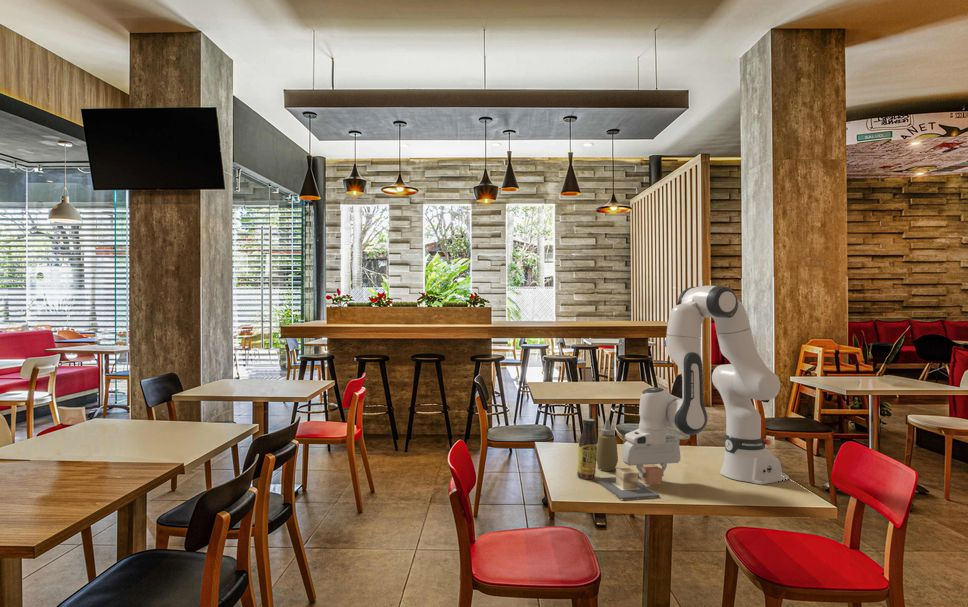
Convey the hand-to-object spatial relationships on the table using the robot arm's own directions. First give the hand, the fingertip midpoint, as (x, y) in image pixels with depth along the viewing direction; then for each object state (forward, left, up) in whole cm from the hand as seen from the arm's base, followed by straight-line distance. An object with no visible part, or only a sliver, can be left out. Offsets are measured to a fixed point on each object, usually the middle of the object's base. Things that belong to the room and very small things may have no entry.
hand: (651, 476), depth 177 cm
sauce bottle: (+20, -8, -2) cm, 22 cm away
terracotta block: (0, 0, -2) cm, 2 cm away
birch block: (+12, +5, -1) cm, 13 cm away
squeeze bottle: (+9, -15, -2) cm, 18 cm away
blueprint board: (+12, +5, -2) cm, 13 cm away
